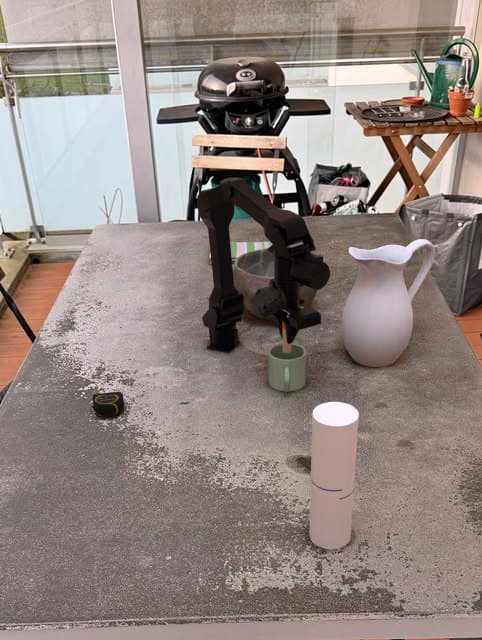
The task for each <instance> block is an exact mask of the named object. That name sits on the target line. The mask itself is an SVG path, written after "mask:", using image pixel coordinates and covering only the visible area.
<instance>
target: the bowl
mask: <svg viewBox="0 0 482 640" xmlns="http://www.w3.org/2000/svg"><path fill="white" fill-rule="evenodd" d="M232 266H233V278H234V286H235V288H236V289H237V290H238V292H239V293H242V294H243V296H244V306H245V309H244V311H247V312H249V314H251V315H253V316H255V317H257V318H259V319H260V318H261V317H260V316H259V315H258V314H256V313H254V310H253V308H252V305H251V303H250V299H251V298H252V297H254V296H255V293H256V292H257V290H258V289H260V288H264V287H268V286H269V282H270V280H271V279H274V254H273V253H271V252H268V248H265V249H262V250H255V251H251V252H248V253H245V254H243V255H241V256H240V257H238V258H237V260H236V261H235V264H233V265H232ZM317 292H318V290H315V289H312V288H310V287H307V286H301V289H300V297H302V298H304V303H303V304H299V307H300V306H301V307H304V308H305V307H309V306H311V304H312V303H313V302H314V300H315V298H316V296H317ZM261 319H262V318H261ZM263 319H264V320H269V321H276V320H275V317H274V316H273V315H269V316H268V317H266V318H263Z"/></svg>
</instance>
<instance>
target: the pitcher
mask: <svg viewBox="0 0 482 640" xmlns="http://www.w3.org/2000/svg"><path fill="white" fill-rule="evenodd" d="M421 248H424V257H423V262H422V264H421V266H420V269H419V272H418V273H417V275H416V276H415V278H414V281H413V282H412V283H411V285H410V287H409V289H407V286H406V283H405V279H404V268H406V266H407V264H408V262H409V261H410V259H411V258H412V256H413V254H414V253H415V252H417V251H418V250H419V249H421ZM348 254H349V255H350V257H351V258H353V260H354V261H356V262H357V264H358V273H357V277H356V279H355V281H354V284H353V285H352V288H351V290H350V292H349V294H348V296H347V299H346V302H345V304H344V307H343V312H342V315H341V337H342V340H343V344H344V346H345V349H346V351H347V352H348V354H349V356H350V357H351V359H352V360H353V361H354V362H355V363H357V364H359V365H362V366H365V367H370V368H381V367H387V366H389V365H392V364H393V363H395V362H396V361H398V359H399V358H400V357H401V356H402V354H403V353H404V352H405V350H406V349H407V347H408V345H409V344H410V343H409V342H410V340H411V337H412V333H413V327H414V311H413V306H412V302H413V299H414V298H415V295H416V294H417V292H418V291H419V289H420V287H421V286H422V285H423V283H424V281H425V279H426V277H427V276H428V275H429V272H430V271H431V268H432V267H433V264H434V261H435V258H436V257H435V256H436V249H435V246H434V244H433V243H432V242H431V241H430V240H428V239H425V238H418V239H415V240H413V241H411V242H410V243H408V244H407V245H406V246H403V245H399V244H386V245H382V246H379V247H377V248H374V249H373V248H372V249H366V248H365V249H364V248H358V247H356V246H355V247H353V246H349V248H348Z"/></svg>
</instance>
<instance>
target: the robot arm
mask: <svg viewBox="0 0 482 640" xmlns="http://www.w3.org/2000/svg"><path fill="white" fill-rule="evenodd" d="M235 206H236V207H238V208H239V209H240V210H241V211H242V212H244V213H245V214H247V215H248V217H250V218H251V219H252V220H254V221H255V222H256V223H258V224H259V225H260V226H261V227H262V229H263V233H264V237H265V238H266V239H267V240H268V241H270V242H271V243H272V244H273V245H272V246H270V247H269V248H268V252H271V253H273V254H274V279H271V280H270V282H269V286H268V287H264V288H260V289H258V290H257V292H256V293H255V296H254V297H252V298H251V299H250V303H251V305H252V308H253V310H254V313H256V314H258V315H259V316H260V317H261V319H264V318H266V317H268V316H269V315H273V316H274V317H275V320H274V321H275V322H276V325H277V329H278V331H279V334H280V335H279V336H280V338H281V340H282V341H283V328H282V322H283V323H285V327H286V338H287V343H288V344H291V343H293V342H294V340H295V338H296V337H297V335H298V333H299V331H301V330H304V329H308V328H311V327H315V326H318V325H319V326H320V325H321V324H322V317H323V316H322V315H323V314H322V313H321V312H319V311H318V310H317V309H315V308H313V307H312V306H311V305H309V306H308V307H305V308H304V307H301V306H300V307H299V304H303V303H304V298H302V297H300V289H301V286H307V287H310V288H312V289H315V290H317V291H319V290H322V289H324V287H326V286H327V284H328V282H329V280H330V278H331V269H330V267H329V265H328V264H327V263H326V262H324V256H323V255H320V254H315V253H313V252H314V251H316V250H317V247H316V245H315V242H314V238H313V237H312V235H311V233H310V231H309V228H308V226H307V224H306V220H305V219H304V217H302V216H301V215H300V214H298V213H296V212H294V211H292V210H289V209H283V208H281V207H277V206H276V205H275V204H273V203H272V202H271V201H270V200H268V199H267V198H266V197H265V196H263V195H262V194H260V192H258V191H257V190H255V189H254V188H253V187H252V186H251V185H249V184H248V182H247V180H246V179H244V178H241V177H236V178H233V179H229V180H225V181H224V182H223V183H221V184H219V185H218V186H214V187H210V188H206V189H203V190H200V191H199V193H198V194H197V196H196V207H197V209H198V214H199V218H200V219H201V221H202V222H203V224H204V225H205V226H206V227H207V235H208V243H209V254H211V263H212V264H211V273H212V281H213V282H212V283H213V288H212V291H211V292H210V295H209V298H208V310H207V311H206V312H205V313H204V314H203V315H202V317H201V319H202V323H203V326H204V327H206V328H208V333H209V344H208V345H207V347H206V349H207V350H212V351H219V352H224V353H231V352H232V351H233V350H234V349H235V347H237V346H238V345H239V344H240V340H239V329H238V328H237V323H240V322H242V318H243V315H244V312H245V310H244V309H245V306H244V296H243V294H242V293H239V292H238V290H237V289H236V288H235V286H234V278H233V266H234V265H233V264H232V255H231V244H230V242H231V233H230V225H231V223H232V221H233V218H234V216H235ZM299 243H301V244H299ZM296 244H299V245H296ZM292 245H295V246H292ZM260 317H259V318H260ZM285 317H286V318H285Z"/></svg>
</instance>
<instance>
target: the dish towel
mask: <svg viewBox="0 0 482 640" xmlns="http://www.w3.org/2000/svg"><path fill="white" fill-rule="evenodd" d="M230 244H231V255H232V265H234V264H235V261H236V260H237V258H238V257H240V256H241V255H243V254H245V253H248V252H251V251H255V250H262V249H265V248H269V247H270V246H272V245H273V244H272V243H271V242H270V241H269V240H268V241H247V242H246V241H243V242H242V241H241V242H240V241H230ZM208 255H209V264H210V265H212V263H211V254H210V253H209V254H208Z"/></svg>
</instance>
